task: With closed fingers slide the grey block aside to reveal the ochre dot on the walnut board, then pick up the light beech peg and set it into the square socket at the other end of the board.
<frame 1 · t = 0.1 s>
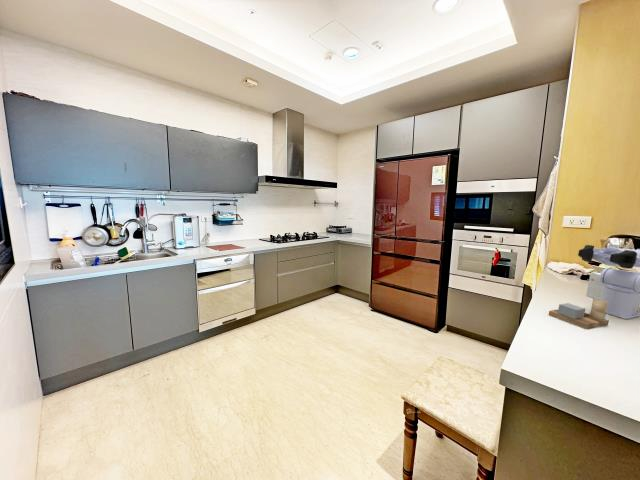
hand: (595, 255, 82), 22 cm above the countertop, tool horizontal, fingers open, 7 cm apart
grey block: (571, 310, 83), point 3 cm above the countertop, slide at 0.0 cm
peg: (596, 318, 82), point 2 cm above the countertop, touching board
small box: (601, 300, 105), on the countertop
board: (577, 319, 84), on the countertop
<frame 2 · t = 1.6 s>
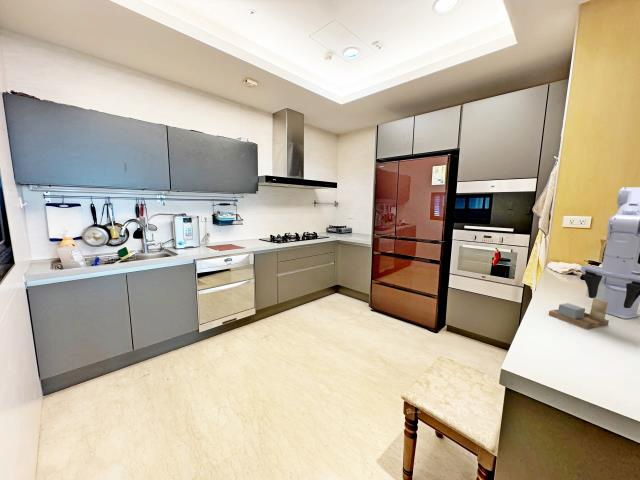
hand: (608, 302, 75), 9 cm above the countertop, tool pointing down, fingers open, 7 cm apart
nothing on the countertop moved.
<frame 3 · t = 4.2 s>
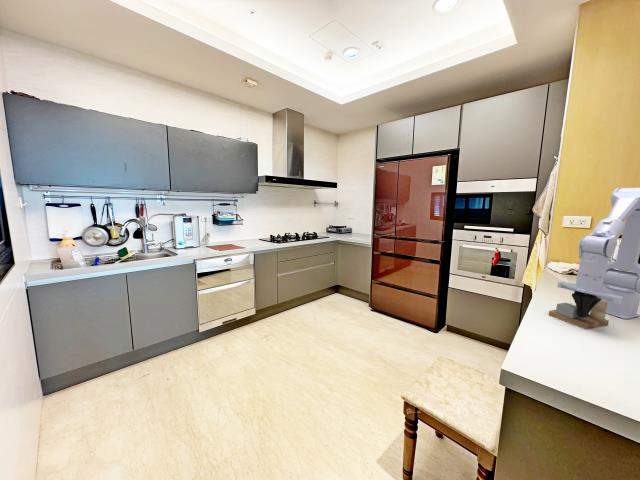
hand: (582, 316, 81), 3 cm above the countertop, tool pointing down, fingers closed
grey block: (568, 310, 84), point 3 cm above the countertop, slide at 0.6 cm, touching gripper
everything else where it was.
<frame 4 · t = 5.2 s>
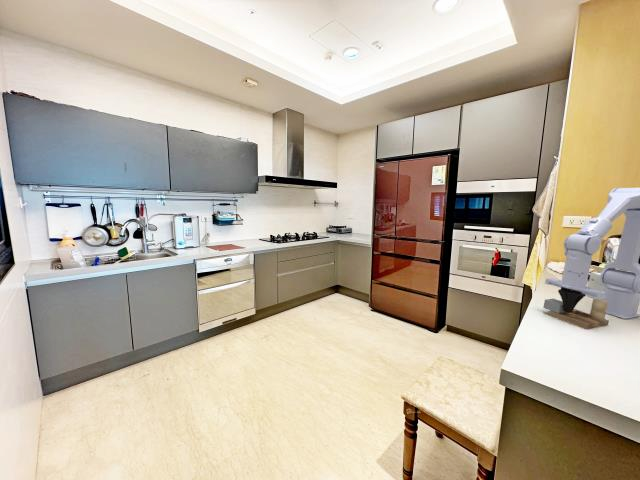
hand: (568, 311, 84), 3 cm above the countertop, tool pointing down, fingers closed
grey block: (556, 305, 87), point 3 cm above the countertop, slide at 4.2 cm, touching gripper
everything else where it was.
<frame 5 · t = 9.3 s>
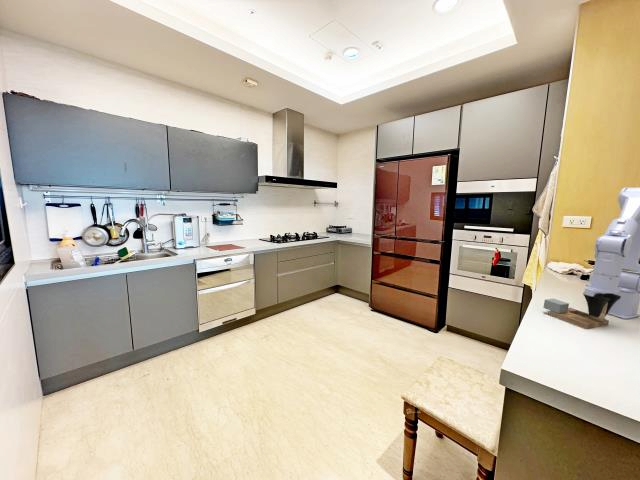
hand: (597, 315, 82), 3 cm above the countertop, tool pointing down, fingers closed on peg, 3 cm apart
grey block: (556, 305, 87), point 3 cm above the countertop, slide at 4.2 cm
peg: (596, 318, 82), point 2 cm above the countertop, touching board, gripper
everything else where it was.
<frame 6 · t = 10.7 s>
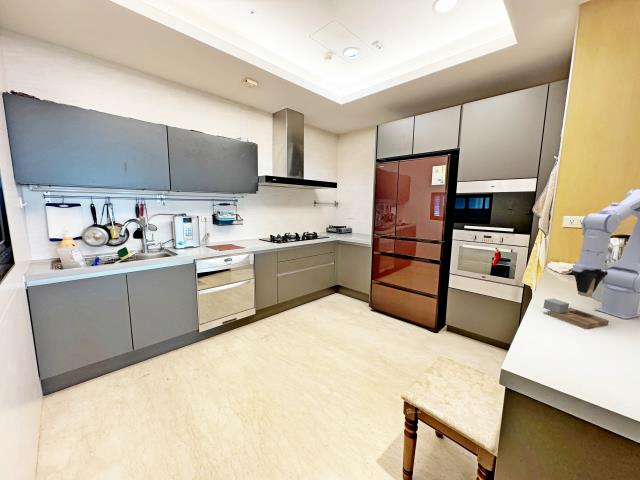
hand: (585, 291, 84), 9 cm above the countertop, tool pointing down, fingers closed on peg, 3 cm apart
peg: (584, 295, 84), point 8 cm above the countertop, touching gripper
everything else where it was.
when the fingers open (2 cm above the countertop, at t = 12.6 s): peg stays where it is, resting in board.
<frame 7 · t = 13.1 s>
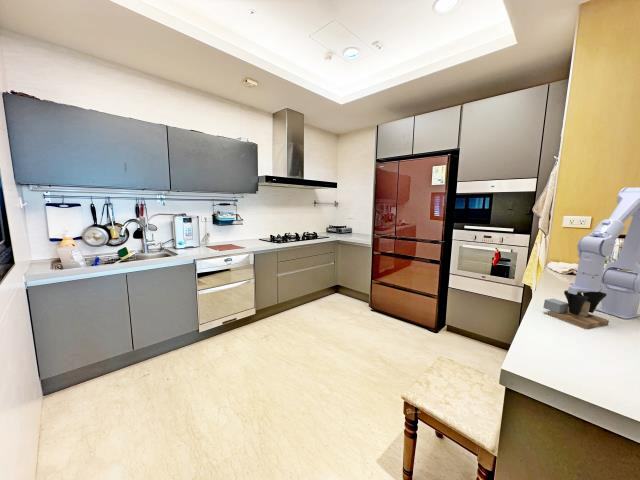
hand: (581, 312, 85), 2 cm above the countertop, tool pointing down, fingers open, 7 cm apart
peg: (580, 318, 85), resting in board
everything else where it was.
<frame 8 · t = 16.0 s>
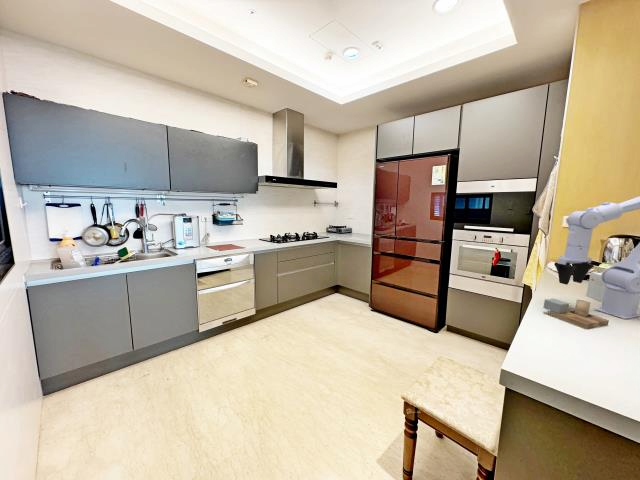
hand: (570, 283, 91), 10 cm above the countertop, tool pointing down, fingers open, 7 cm apart
nothing on the countertop moved.
at the end: grey block slide at 4.2 cm; peg 0.0 cm from the target spot, resting in board; peg tilted 0° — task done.
